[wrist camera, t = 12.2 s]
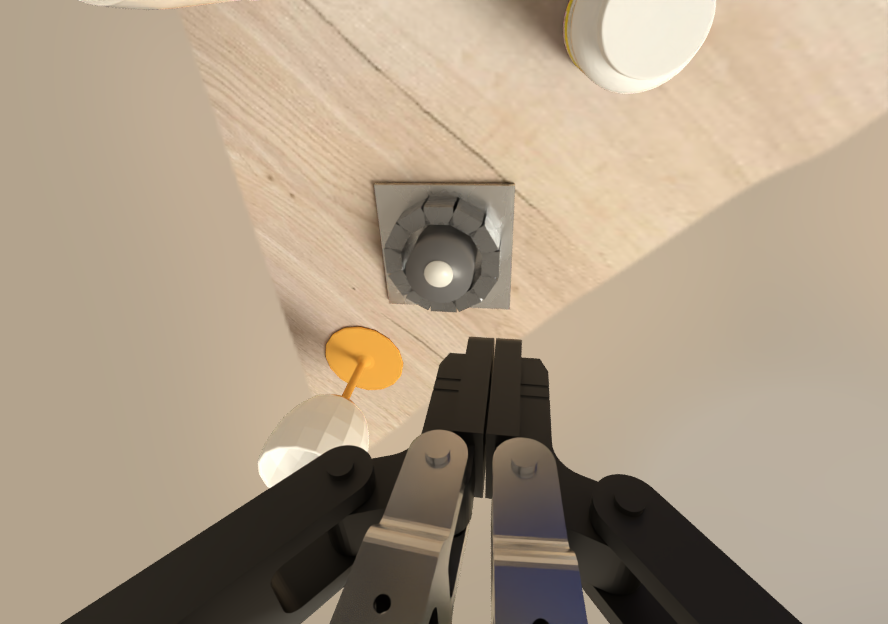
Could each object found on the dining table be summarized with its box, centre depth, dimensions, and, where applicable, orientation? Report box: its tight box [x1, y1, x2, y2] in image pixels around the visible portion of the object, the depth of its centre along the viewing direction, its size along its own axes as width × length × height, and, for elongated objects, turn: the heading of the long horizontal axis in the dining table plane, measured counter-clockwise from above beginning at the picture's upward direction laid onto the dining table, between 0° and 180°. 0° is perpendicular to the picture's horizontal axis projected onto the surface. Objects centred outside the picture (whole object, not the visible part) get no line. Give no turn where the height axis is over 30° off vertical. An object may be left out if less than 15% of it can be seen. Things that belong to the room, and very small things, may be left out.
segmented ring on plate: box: [374, 183, 515, 312], centre depth 40 cm, size 12×12×3 cm
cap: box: [406, 225, 477, 303], centre depth 38 cm, size 6×6×5 cm
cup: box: [258, 327, 403, 488], centre depth 44 cm, size 9×9×16 cm
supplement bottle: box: [563, 0, 716, 94], centre depth 25 cm, size 7×7×13 cm
